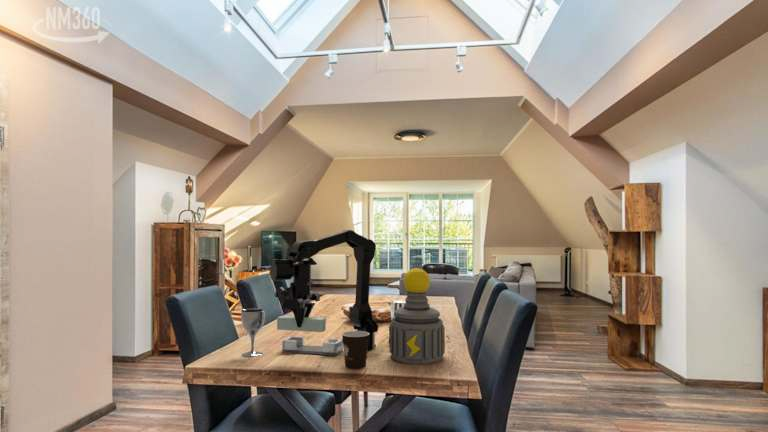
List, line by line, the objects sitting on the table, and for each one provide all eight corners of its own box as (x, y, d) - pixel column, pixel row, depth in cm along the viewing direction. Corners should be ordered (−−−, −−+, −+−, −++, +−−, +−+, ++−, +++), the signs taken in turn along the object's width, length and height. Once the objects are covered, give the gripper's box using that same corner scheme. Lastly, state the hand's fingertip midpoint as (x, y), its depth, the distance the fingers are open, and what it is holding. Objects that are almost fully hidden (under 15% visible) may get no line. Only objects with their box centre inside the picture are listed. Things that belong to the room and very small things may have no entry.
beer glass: (408, 341, 164) (408, 303, 165) (390, 341, 164) (390, 302, 165) (407, 337, 171) (407, 300, 171) (390, 337, 171) (390, 300, 172)
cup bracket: (342, 350, 151) (342, 339, 151) (336, 355, 144) (336, 343, 144) (290, 347, 155) (290, 336, 155) (282, 352, 148) (282, 340, 148)
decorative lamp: (443, 367, 132) (443, 270, 133) (384, 363, 135) (384, 269, 137) (445, 351, 150) (445, 266, 152) (393, 348, 154) (393, 266, 155)
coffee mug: (370, 369, 129) (371, 336, 129) (342, 370, 127) (343, 337, 128) (366, 358, 140) (366, 328, 141) (340, 360, 139) (340, 329, 139)
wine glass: (269, 352, 147) (269, 309, 148) (253, 358, 140) (254, 312, 141) (251, 349, 151) (252, 307, 152) (235, 355, 144) (236, 311, 144)
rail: (325, 330, 139) (325, 318, 139) (322, 332, 136) (322, 319, 136) (281, 327, 143) (281, 315, 143) (277, 329, 140) (277, 317, 140)
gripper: (291, 276, 151) (290, 319, 150) (266, 281, 133) (265, 331, 132) (320, 276, 149) (320, 321, 148) (299, 281, 131) (298, 332, 130)
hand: (301, 326), depth 140 cm, fingers closed on rail, 3 cm apart
